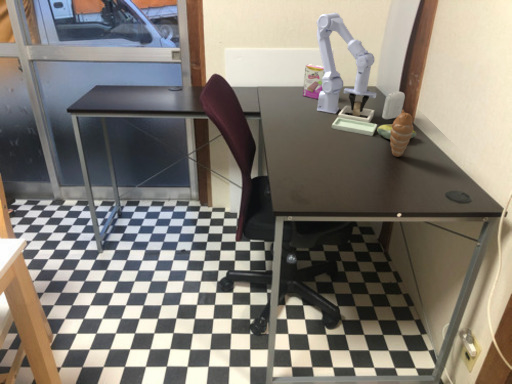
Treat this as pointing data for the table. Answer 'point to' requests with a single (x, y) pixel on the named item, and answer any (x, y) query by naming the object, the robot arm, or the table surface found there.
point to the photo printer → (393, 105)
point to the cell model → (389, 131)
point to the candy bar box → (313, 81)
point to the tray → (354, 126)
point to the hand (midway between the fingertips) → (356, 110)
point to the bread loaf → (357, 108)
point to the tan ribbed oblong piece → (401, 133)
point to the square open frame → (348, 109)
